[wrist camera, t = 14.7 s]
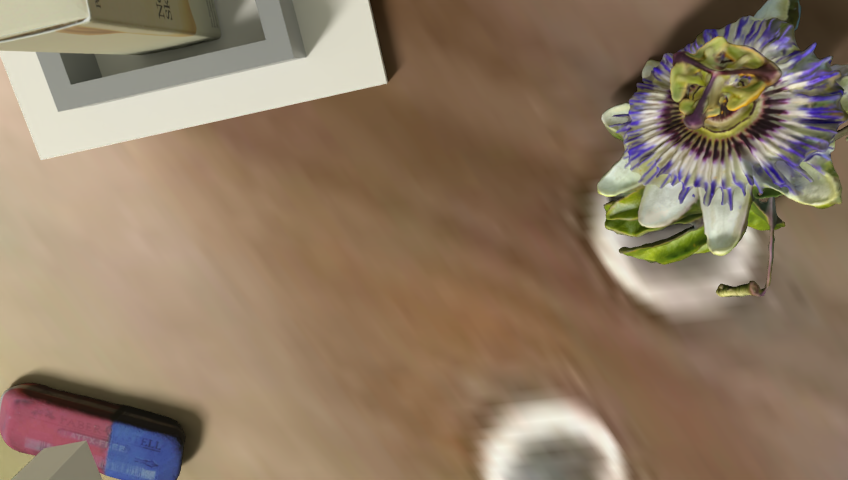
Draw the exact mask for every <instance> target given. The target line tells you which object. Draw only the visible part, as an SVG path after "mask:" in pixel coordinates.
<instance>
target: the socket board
mask: <svg viewBox="0 0 848 480" xmlns="http://www.w3.org/2000/svg"><path fill="white" fill-rule="evenodd" d="M214 4H215V9H216V13H217V17H218V22H219V26H220V31H221V37H220V38H219V39H217V40H213V41H209V42H205V43H201V44H197V45H193V46H188V47H184V48H179V49H174V50H168V51H163V52H157V53H151V54H145V55H120V54H84V53H54V52H25V51H0V57H1V59H2V62H3V64H4V67H5V70H6V72H7V75H8V77H9V80H10V82H11V85H12V87H13V90H14V93H15V95H16V98H17V100H18V103H19V105H20V108H21V111H22V113H23V116H24V118H25V121H26V123H27V126H28V128H29V131H30V134H31V136H32V139H33V141H34V144H35V146H36V149H37V152H38V154H39V157H40V159H41V160H44V159H48V158H53V157H57V156H62V155H66V154H71V153H75V152H80V151H84V150H89V149H93V148H98V147H102V146H107V145H111V144H116V143H120V142H125V141H129V140H134V139H138V138H143V137H147V136H152V135H156V134H161V133H165V132H170V131H174V130H179V129H183V128H188V127H192V126H197V125H201V124H206V123H210V122H215V121H219V120H224V119H228V118H233V117H238V116H242V115H247V114H251V113H256V112H260V111H265V110H269V109H274V108H278V107H283V106H287V105H292V104H296V103H301V102H305V101H310V100H314V99H319V98H323V97H328V96H332V95H337V94H341V93H346V92H350V91H355V90H359V89H364V88H368V87H373V86H377V85H382V84H386V83H388V79H387V75H386V70H385V66H384V61H383V57H382V53H381V48H380V44H379V39H378V35H377V30H376V26H375V21H374V17H373V13H372V8H371V4H370V0H214Z"/></svg>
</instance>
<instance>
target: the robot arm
mask: <svg viewBox="0 0 848 480" xmlns="http://www.w3.org/2000/svg"><path fill="white" fill-rule="evenodd" d="M11 480H102V478H101V475H100V473H99V470H98V468H97V465H96V463H95V461H94V458H93V456H92V453H91V451H90V448H89V446H88V443H87V441H81V442H75V443H70V444H65V445H60V446H54V447H49V448H44V449H43V450H42V451H41V452H39V453H38V454H37V455H36V456H35V457H34V458H33V459H32V460H31V461H30V462H29V463H28V464H27V465H26V466H25V467H24V468H23V469H22V470H21V471H19V472H18V473H17V474H16V475H15V476H14V477H13V478H12V479H11Z"/></svg>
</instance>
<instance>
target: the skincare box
mask: <svg viewBox="0 0 848 480" xmlns="http://www.w3.org/2000/svg"><path fill="white" fill-rule="evenodd" d="M220 37H221V31H220V26H219V22H218V17H217V13H216V9H215V4H214V0H0V51H25V52H54V53H84V54H120V55H145V54H151V53H157V52H163V51H168V50H174V49H179V48H184V47H188V46H193V45H197V44H201V43H205V42H209V41H213V40H217V39H219V38H220Z"/></svg>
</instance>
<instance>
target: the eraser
mask: <svg viewBox="0 0 848 480" xmlns="http://www.w3.org/2000/svg"><path fill="white" fill-rule="evenodd" d="M0 433H1V435H2V438H3V440H4V441H5V443H6V444H7V445H8V446H9V447H11V448H12V449H14V450H16V451H19V452H22V453H26V454H31V455H35V456H36V455H37V454H38V453H39V452H41V451H42V450H43V449H44V448H49V447H54V446H60V445H65V444H70V443H75V442H81V441H87V443H88V446H89V448H90V451H91V453H92V456H93V458H94V461H95V463H96V465H97V468H98V470H99V473H102V474H104V475H107V476H110V477H114V478H117V479H121V480H177V478H178V476H179V474H180V471H181V465H182V455H183V446H184V442H185V434H184V431H183V429H182V428H181V426H180V425H179V424H178V423H177V421H175V420H173V419H171V418H169V417H166V416H162V415H159V414H155V413H152V412H149V411H145V410H141V409H138V408H134V407H130V406H126V405H119V404H113V403H110V402H106V401H102V400H99V399H94V398H90V397H86V396H81V395H76V394H73V393H69V392H65V391H61V390H57V389H53V388H50V387H48V386H45V385H41V384H36V383H24V384H20V385H17V386H14V387H11V388H9V389H7V390H6V391H5V392H4V393H3V395H2V396H1V399H0Z"/></svg>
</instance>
